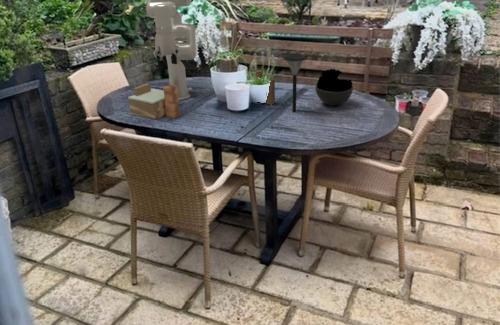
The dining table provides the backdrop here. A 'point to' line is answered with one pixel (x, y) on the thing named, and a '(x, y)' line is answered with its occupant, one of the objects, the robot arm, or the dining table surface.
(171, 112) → the key post
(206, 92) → the dining table surface
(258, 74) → the wooden block
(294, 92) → the solar garden light
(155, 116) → the toolbox
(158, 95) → the lid
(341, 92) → the bowl of black rocks
